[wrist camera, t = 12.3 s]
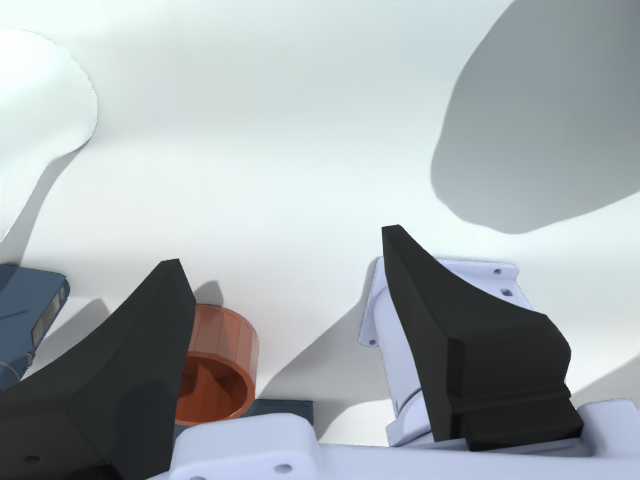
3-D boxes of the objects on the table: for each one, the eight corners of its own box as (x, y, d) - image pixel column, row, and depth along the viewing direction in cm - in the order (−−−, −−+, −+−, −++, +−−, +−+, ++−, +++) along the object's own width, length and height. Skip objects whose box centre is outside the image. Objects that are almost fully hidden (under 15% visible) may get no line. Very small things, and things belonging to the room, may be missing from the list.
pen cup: (261, 306, 31) (257, 353, 27) (256, 379, 35) (252, 428, 31) (146, 300, 30) (127, 348, 26) (156, 376, 34) (140, 426, 30)
